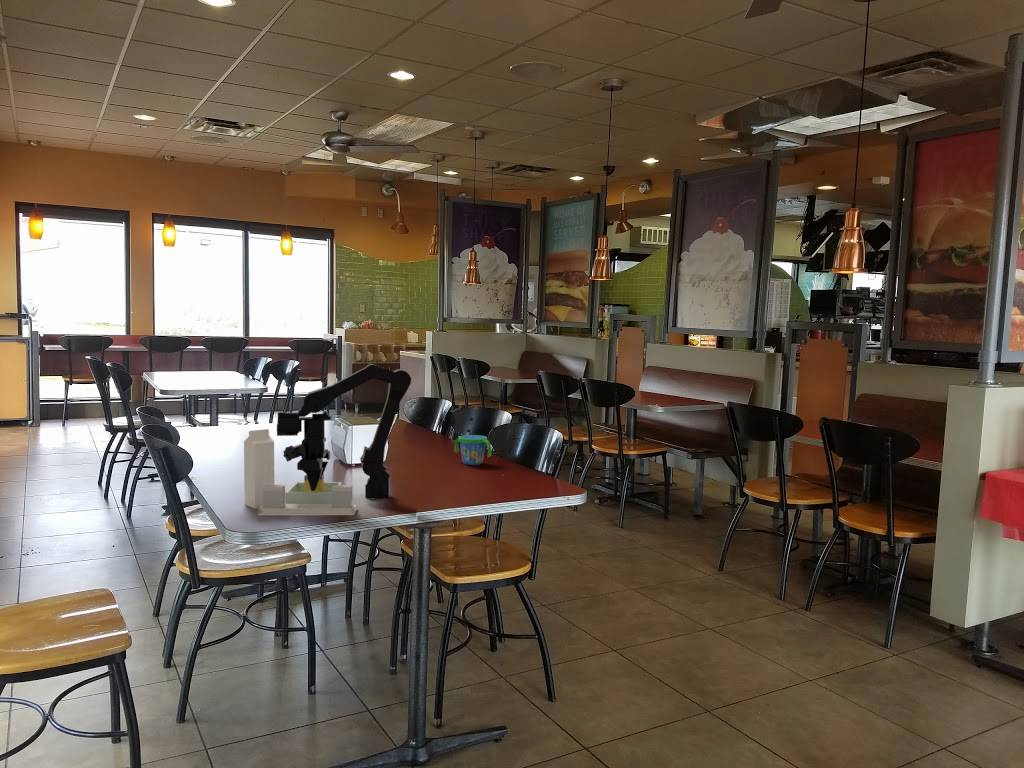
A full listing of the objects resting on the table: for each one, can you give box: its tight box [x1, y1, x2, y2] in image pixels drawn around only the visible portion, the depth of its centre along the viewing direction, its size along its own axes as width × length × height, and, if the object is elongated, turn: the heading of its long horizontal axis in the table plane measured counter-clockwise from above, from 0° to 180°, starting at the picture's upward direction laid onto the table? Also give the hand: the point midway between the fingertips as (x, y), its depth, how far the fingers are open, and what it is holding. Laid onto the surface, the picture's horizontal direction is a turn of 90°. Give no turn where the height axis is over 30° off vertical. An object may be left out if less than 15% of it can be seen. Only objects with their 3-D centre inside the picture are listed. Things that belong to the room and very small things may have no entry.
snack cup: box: [453, 434, 493, 466], centre depth 282 cm, size 16×10×10 cm
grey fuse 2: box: [332, 484, 353, 508], centre depth 204 cm, size 5×3×7 cm, turn 94°
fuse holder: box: [257, 503, 358, 516], centre depth 204 cm, size 25×7×2 cm, turn 94°
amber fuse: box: [303, 473, 325, 492], centre depth 218 cm, size 5×3×7 cm, turn 93°
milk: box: [243, 428, 275, 509], centre depth 210 cm, size 6×6×22 cm
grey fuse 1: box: [263, 484, 286, 508], centre depth 203 cm, size 5×3×7 cm, turn 94°
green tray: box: [285, 481, 343, 504], centre depth 218 cm, size 14×14×4 cm
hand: (314, 488), depth 218 cm, fingers open, 4 cm apart
